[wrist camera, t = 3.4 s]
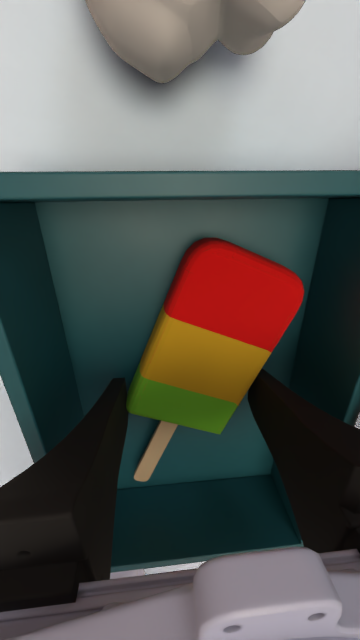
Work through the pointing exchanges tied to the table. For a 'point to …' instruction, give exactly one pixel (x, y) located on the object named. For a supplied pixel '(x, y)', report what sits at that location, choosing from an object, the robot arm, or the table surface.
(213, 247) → the popsicle
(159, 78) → the beige clay figurine
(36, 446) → the box
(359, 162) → the table surface
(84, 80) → the table surface
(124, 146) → the table surface
